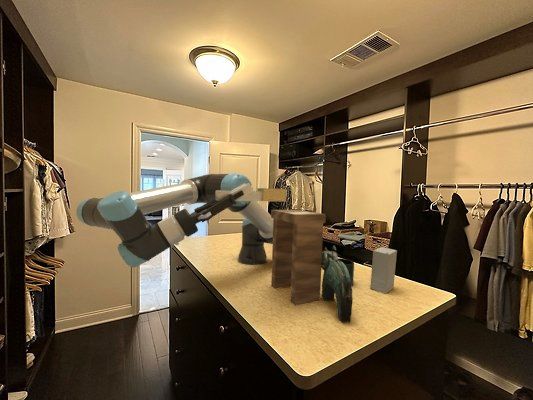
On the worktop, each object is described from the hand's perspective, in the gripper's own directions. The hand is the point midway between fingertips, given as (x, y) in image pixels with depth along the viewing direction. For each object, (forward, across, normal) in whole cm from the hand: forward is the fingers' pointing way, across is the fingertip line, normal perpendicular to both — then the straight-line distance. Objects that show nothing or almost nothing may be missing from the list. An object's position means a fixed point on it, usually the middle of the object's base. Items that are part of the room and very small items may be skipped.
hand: (248, 187), depth 79 cm
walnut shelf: (-1, -5, -44) cm, 44 cm away
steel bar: (-1, 0, -4) cm, 4 cm away
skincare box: (+29, +4, -61) cm, 68 cm away
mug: (+19, -7, -55) cm, 59 cm away
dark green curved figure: (+5, +10, -47) cm, 48 cm away
